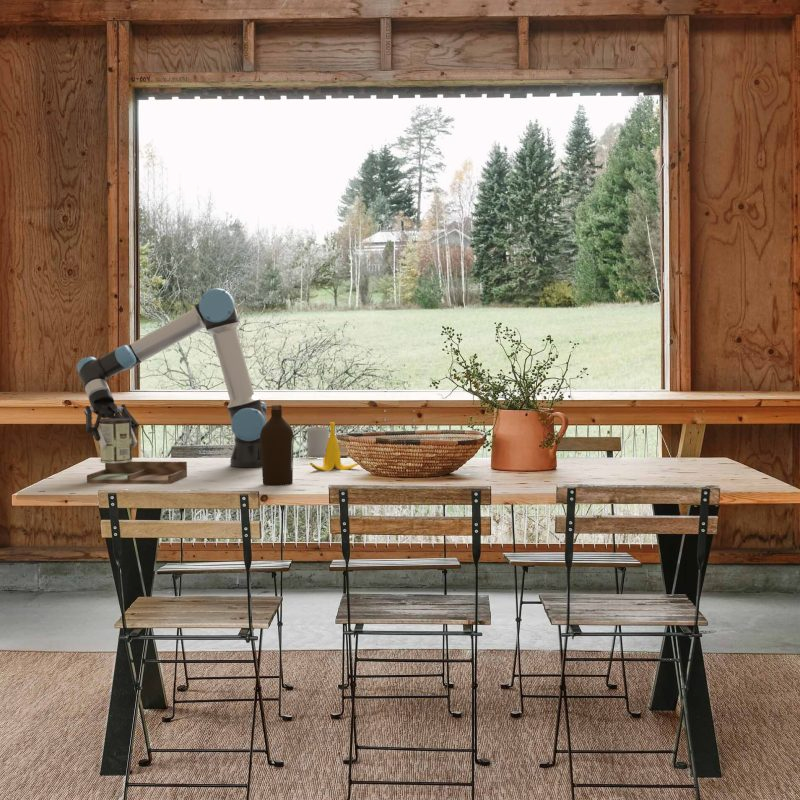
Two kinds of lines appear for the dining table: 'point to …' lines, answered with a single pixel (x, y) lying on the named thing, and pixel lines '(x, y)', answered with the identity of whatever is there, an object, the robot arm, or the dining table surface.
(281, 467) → the olive oil
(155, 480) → the tray
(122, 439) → the coffee can
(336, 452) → the banana peel
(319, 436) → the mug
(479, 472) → the dining table surface
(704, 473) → the dining table surface
